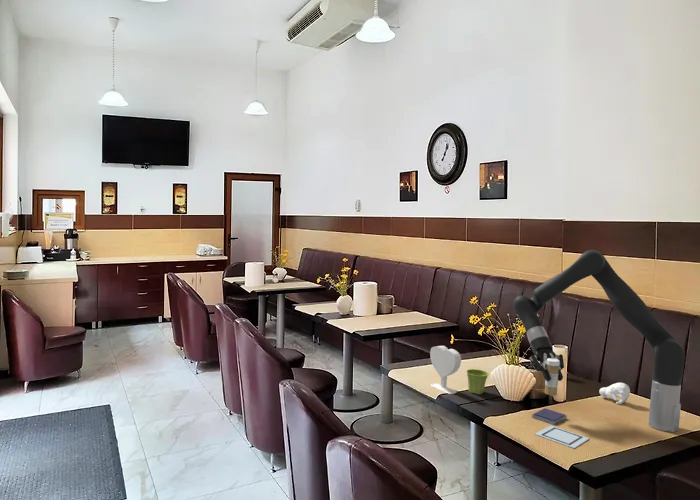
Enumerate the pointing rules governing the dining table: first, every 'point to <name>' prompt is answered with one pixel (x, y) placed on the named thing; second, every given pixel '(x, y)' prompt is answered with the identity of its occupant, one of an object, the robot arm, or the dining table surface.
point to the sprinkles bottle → (552, 376)
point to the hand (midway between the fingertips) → (555, 380)
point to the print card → (562, 436)
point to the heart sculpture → (445, 365)
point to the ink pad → (549, 416)
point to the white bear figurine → (616, 392)
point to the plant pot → (476, 380)
